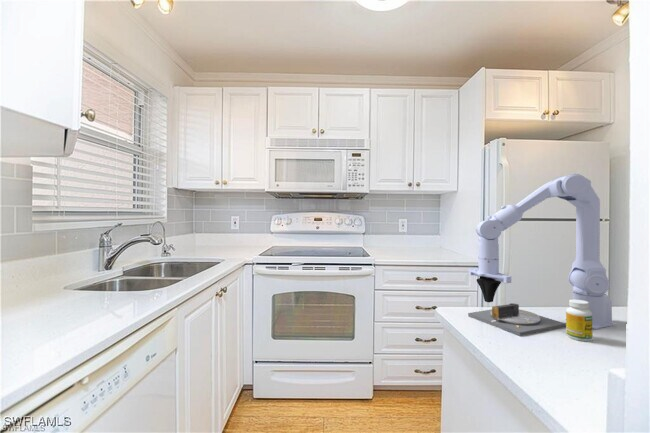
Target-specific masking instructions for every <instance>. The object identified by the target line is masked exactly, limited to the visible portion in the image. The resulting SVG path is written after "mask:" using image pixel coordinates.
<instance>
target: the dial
mask: <svg viewBox="0 0 650 433" xmlns="http://www.w3.org/2000/svg"><path fill="white" fill-rule="evenodd" d="M491 309H492V310H491ZM491 309H490V310H491V311H490V316H491V317H492V318H494V319H496V320H498V321H501V322H505V323H510V324H516V325H535V324H539V323H540V317H539V316H540V315H539V314H536V312H535V313H534V312H531V311H529V310H524V309H520V305H519V303H509V304H503V305H496V306H491ZM538 315H539V316H538Z"/></svg>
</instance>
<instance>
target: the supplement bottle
mask: <svg viewBox="0 0 650 433" xmlns="http://www.w3.org/2000/svg"><path fill="white" fill-rule="evenodd" d="M568 305H569V307H567V308H566V310H565V318H566V319H565V321H566V322H565V323H566V327H565V328H566V329H565V330H566V331H565V332H566V336H567V337H568V338H569V339H572V340H576V341H578V342H592V340H593V337H594V336H593V328H592V312H591V311H590V310H588V309H587V308H588V307H589V303H588V302H587V301H583V300H576V299H573V298H572V299H569V301H568Z"/></svg>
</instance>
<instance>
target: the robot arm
mask: <svg viewBox="0 0 650 433" xmlns="http://www.w3.org/2000/svg"><path fill="white" fill-rule="evenodd" d="M549 198H559V199H561V200H565V201H567V202H568V203H570V204H571V205H572V206H574V207H575V209H576V210H575V212H576V213H575V214H576V215H575V220H576V222H575V233H576V234H575V248H576V249H575V260H573V263H572V264H571V270H570V271H569V274H568V275H567V276H568V277H567V278H568V282H569V283H570V285H571V286H572V299H576V300H583V301H587V302H588V303H589V307H588V308H587V309H588V310H590V311H591V312H592V330H593V329H595V330H597V329H602V328H606V327H610V326H615V325H616V324H617V323H616V322H614V321H613V308H612V307H613V303H612V300H611V298H610V297H609V295H608V294H606V293H607V292H608V291H609V290H610V287H611V285H610V284H611V282H610V280H609V277H607V272H606V271H607V270H606V268H605V267H604V265H603V264H602V262H601V260H600V259H601V255H600V252H601V251H600V248H601V246H600V245H601V244H600V243H601V240H600V238H601V236H600V235H601V200H600V198H599V196H598V195H597V193H596V192H595V190H594V188H593V187H592V181H591V180H590V179H588V178H587V177H585V176H584V175H582V174H580V173H571V174H569V175H565V176H559V177H555V178H553V179H552V180H551V181H548V182H546V183H544V184H542V185H541V186H540V187H538V188H537V189H535V190H534V191H533V192H531V193H529V194H528V195H527V196H526V197H524V198H523V199H522V200H520V201H519V202H518V203H516V204H507V205H502V206H501V207H500V210H498V211H496V212H494V214H492V215H488V216H486V217H487V219H488V220H482V221H480V222H479V223H478V224H477V226H476V229H475V232H476V233H477V236H478V246H477V247H478V248H477V254H478V257H477V258H478V260H477V261H478V262H477V264H478V268H468V275H469V276H475V277H479V278H476V283H477V284H478V286H479V288H480V290H481V292H482V297H483V299H484V300H483V301H484V302H486V303H493V302H494V299H495V295H496V292H497V290H498V289H499V287H500V285H501V284H502V283H504V284H512V276H511V275H507V274H504V273H501V272H500V261H499V260H500V259H499V258H500V255H499V254H500V253H499V250H500V249H499V245H500V244H499V238H500V236H501V234H502V232H504V231H506V230H507V229H509V228H511V227H512V226H514V225H516V224H517V223H518V222H520V221H521V220H522V219H523V214H524V213H526V212H527V211H529V210H531V209H532V208H533V207H535V206H537V205H539V204H541V203H542V202H543V201H546V200H547V199H549Z"/></svg>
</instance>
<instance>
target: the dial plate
mask: <svg viewBox="0 0 650 433" xmlns="http://www.w3.org/2000/svg"><path fill="white" fill-rule="evenodd" d="M491 310H492V308H491V309H485V310H481V311H480V310H479V311H472V312H468V314H467V315H468V317H470V318H472V319H474V320H478V321H479V322H482V323H485V324H488V325H490V326H493V327H495V328H498V329H500V330H503V331H506V332H508V333H511V334H513V335H516V336H519V337H523V336H528V335H533V334H537V333H543V332H547V331H548V332H549V331H552V330H557V329H562V328H566V322H562V321H559V320H555V319H552V318H549V317H546V316H543V315H539V314H537V315H538V316H539V317H540V323H539V324H535V325H516V324H510V323H505V322H501V321H498V320H496V319H494V318H492V317H491V316H490V311H491Z"/></svg>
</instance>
